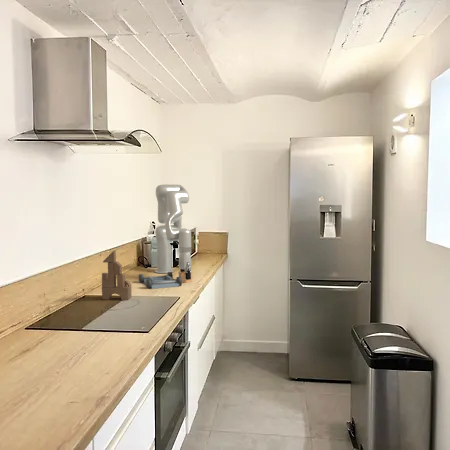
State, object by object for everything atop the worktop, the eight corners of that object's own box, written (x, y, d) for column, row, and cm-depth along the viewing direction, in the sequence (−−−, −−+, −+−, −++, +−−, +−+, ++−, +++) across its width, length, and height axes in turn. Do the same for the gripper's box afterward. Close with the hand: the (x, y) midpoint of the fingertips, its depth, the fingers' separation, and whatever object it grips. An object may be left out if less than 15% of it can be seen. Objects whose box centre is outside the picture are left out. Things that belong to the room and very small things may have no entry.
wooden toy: (132, 297, 244) (131, 249, 242) (128, 300, 237) (127, 251, 235) (103, 296, 246) (102, 249, 244) (98, 299, 239) (97, 250, 237)
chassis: (138, 281, 285) (138, 273, 285) (170, 279, 293) (170, 271, 293) (148, 289, 263) (148, 280, 263) (182, 286, 271) (182, 277, 271)
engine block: (178, 281, 286) (178, 271, 285) (189, 280, 289) (189, 271, 288) (181, 283, 281) (181, 273, 281) (192, 282, 284) (192, 272, 284)
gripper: (174, 248, 290) (175, 276, 291) (183, 252, 274) (184, 281, 275) (186, 248, 293) (186, 275, 294) (195, 251, 277) (196, 280, 278)
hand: (185, 278), depth 285 cm, fingers open, 9 cm apart
